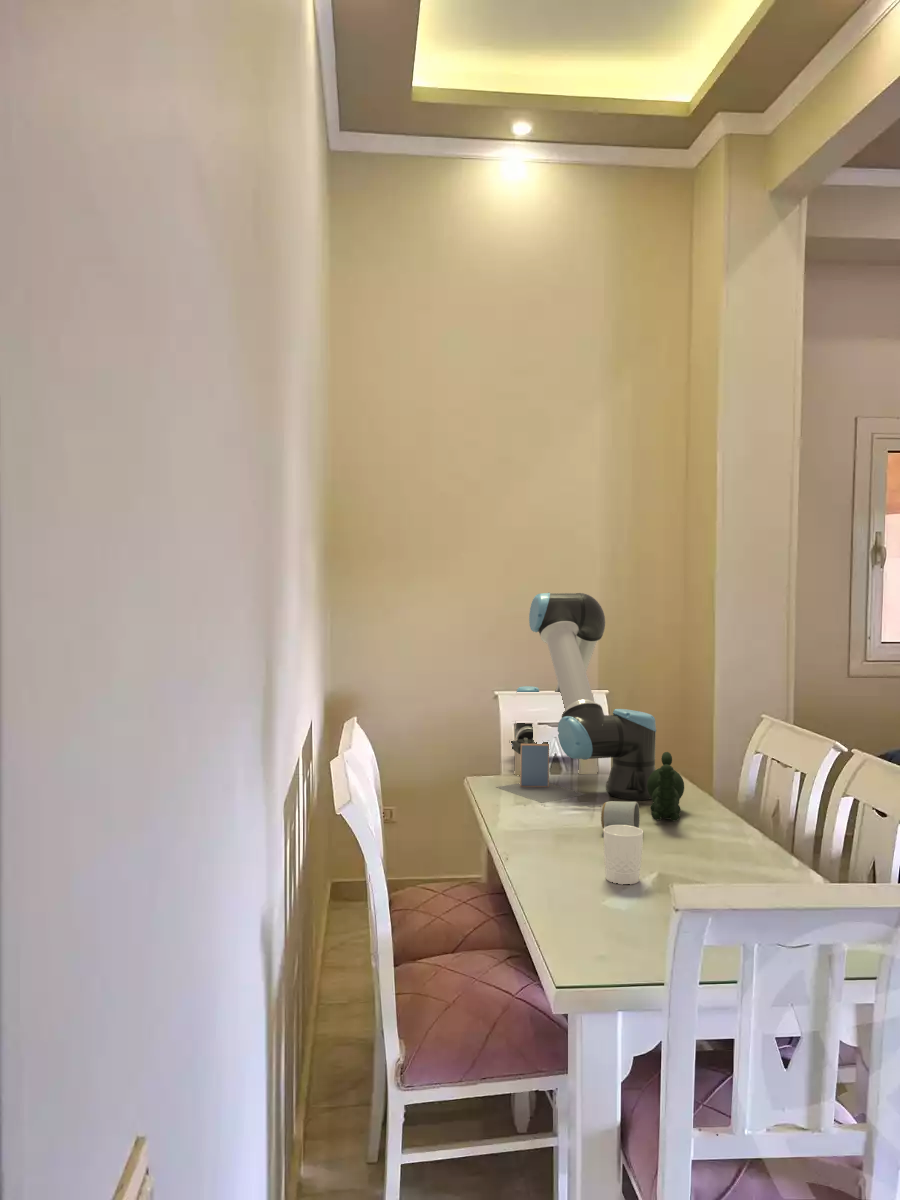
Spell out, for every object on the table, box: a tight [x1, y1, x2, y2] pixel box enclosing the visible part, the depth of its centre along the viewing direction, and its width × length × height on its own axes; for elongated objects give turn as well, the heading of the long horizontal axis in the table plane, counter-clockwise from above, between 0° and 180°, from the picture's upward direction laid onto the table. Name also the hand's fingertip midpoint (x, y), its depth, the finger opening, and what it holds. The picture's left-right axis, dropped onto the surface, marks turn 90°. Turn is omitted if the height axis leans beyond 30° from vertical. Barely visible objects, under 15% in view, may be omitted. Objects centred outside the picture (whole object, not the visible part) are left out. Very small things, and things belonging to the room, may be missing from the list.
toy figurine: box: [647, 751, 685, 822], centre depth 228 cm, size 9×19×25 cm
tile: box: [519, 744, 550, 787], centre depth 254 cm, size 2×8×12 cm, turn 88°
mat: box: [495, 782, 587, 804], centre depth 249 cm, size 20×16×1 cm
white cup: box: [602, 825, 644, 885], centre depth 181 cm, size 8×8×10 cm
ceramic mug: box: [600, 800, 641, 829], centre depth 211 cm, size 11×8×8 cm
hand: (532, 755), depth 262 cm, fingers closed
